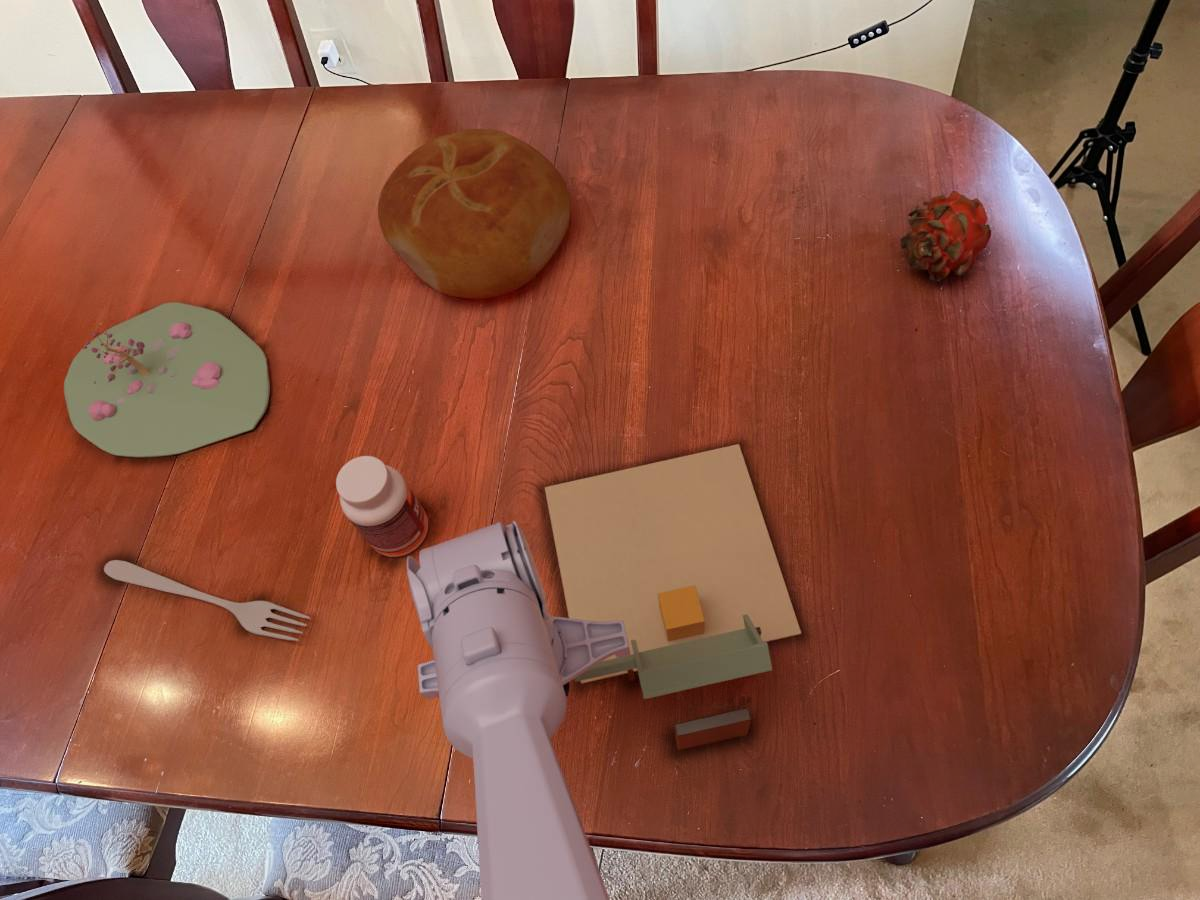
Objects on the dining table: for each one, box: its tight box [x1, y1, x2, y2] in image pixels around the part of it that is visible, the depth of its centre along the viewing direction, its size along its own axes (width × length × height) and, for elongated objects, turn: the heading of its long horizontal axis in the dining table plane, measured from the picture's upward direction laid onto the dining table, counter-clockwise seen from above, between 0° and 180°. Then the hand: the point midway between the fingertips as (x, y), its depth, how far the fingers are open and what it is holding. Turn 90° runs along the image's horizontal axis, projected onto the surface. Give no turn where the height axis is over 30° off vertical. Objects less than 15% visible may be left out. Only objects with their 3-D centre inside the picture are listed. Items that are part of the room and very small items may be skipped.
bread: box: [377, 128, 572, 300], centre depth 99 cm, size 23×23×10 cm
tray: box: [573, 614, 773, 700], centre depth 67 cm, size 10×16×2 cm
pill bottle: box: [335, 455, 429, 558], centre depth 80 cm, size 6×6×11 cm
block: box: [658, 585, 705, 641], centre depth 75 cm, size 3×3×3 cm
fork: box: [103, 559, 311, 642], centre depth 82 cm, size 3×24×2 cm, turn 71°
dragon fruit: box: [899, 190, 992, 283], centre depth 92 cm, size 8×8×12 cm
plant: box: [63, 301, 271, 459], centre depth 93 cm, size 25×21×9 cm
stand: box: [627, 627, 761, 751], centre depth 71 cm, size 7×12×6 cm, turn 101°
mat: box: [544, 443, 802, 685], centre depth 80 cm, size 20×20×1 cm
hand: (543, 689), depth 66 cm, fingers closed
